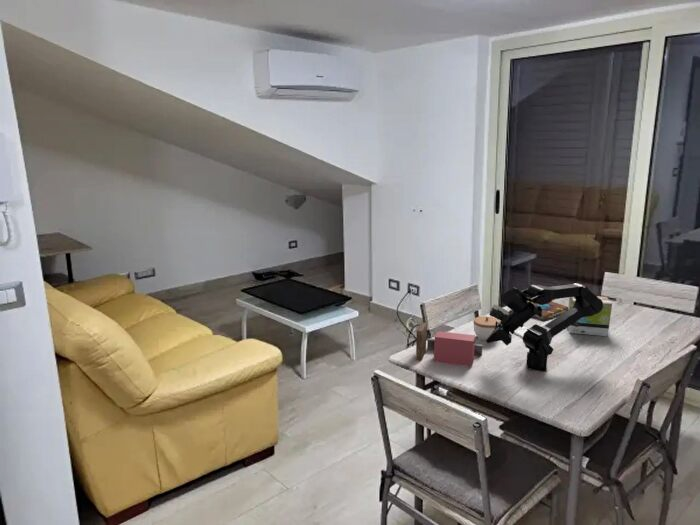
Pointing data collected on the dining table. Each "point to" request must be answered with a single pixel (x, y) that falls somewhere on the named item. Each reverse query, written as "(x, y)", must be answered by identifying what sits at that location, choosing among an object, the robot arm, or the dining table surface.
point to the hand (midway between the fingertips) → (486, 341)
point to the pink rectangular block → (454, 348)
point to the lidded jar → (484, 326)
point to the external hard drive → (520, 331)
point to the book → (550, 310)
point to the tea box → (593, 320)
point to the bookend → (432, 343)
